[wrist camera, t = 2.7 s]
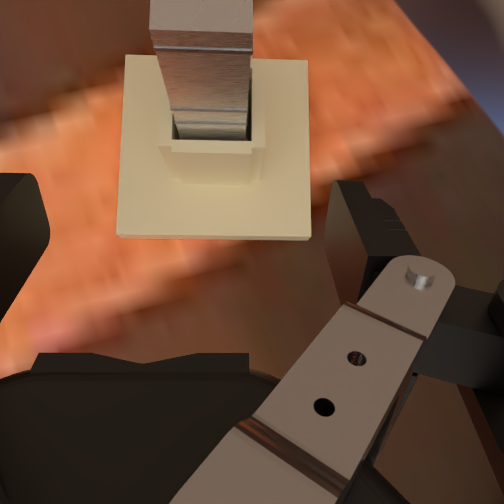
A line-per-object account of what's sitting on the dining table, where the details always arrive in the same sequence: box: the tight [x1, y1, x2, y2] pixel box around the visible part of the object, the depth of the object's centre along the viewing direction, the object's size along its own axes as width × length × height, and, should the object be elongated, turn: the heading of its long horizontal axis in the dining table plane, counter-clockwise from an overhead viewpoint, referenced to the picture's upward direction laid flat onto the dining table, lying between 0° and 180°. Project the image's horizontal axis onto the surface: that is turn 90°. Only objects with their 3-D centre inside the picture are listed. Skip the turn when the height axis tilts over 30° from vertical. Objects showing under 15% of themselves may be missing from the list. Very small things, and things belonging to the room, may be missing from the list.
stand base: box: [116, 55, 311, 240], centre depth 30 cm, size 14×14×8 cm
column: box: [149, 0, 253, 141], centre depth 24 cm, size 4×4×15 cm
